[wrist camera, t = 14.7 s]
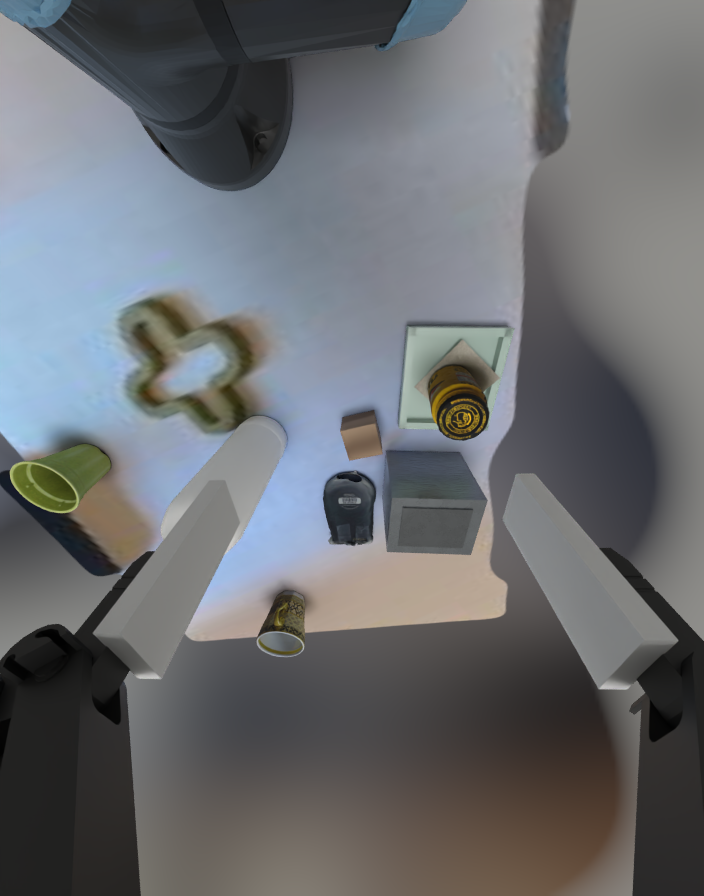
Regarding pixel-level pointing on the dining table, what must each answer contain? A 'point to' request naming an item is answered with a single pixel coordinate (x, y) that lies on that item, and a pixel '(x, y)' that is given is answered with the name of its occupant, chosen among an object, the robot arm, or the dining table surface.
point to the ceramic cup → (284, 626)
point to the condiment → (459, 393)
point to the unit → (430, 503)
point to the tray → (430, 348)
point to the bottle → (236, 471)
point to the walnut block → (361, 435)
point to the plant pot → (60, 477)
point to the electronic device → (349, 510)
